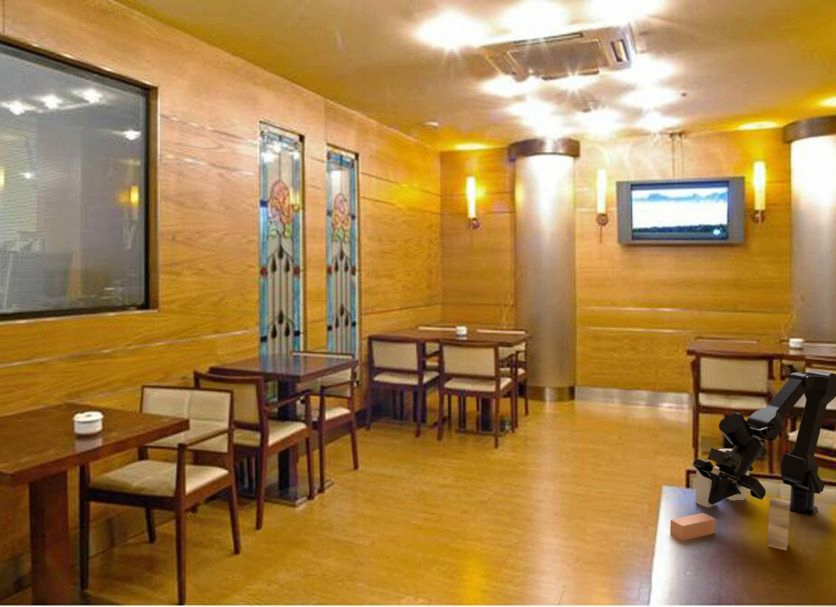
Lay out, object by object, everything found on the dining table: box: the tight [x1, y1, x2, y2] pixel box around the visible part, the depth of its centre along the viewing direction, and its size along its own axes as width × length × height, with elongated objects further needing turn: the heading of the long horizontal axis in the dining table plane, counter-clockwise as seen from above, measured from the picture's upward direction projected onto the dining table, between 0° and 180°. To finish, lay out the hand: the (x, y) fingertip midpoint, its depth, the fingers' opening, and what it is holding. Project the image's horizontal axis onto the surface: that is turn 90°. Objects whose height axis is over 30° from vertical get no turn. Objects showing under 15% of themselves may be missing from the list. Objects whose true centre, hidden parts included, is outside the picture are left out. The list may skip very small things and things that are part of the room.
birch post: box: [767, 496, 791, 551], centre depth 153 cm, size 4×4×11 cm
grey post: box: [694, 465, 718, 508], centre depth 179 cm, size 4×4×11 cm
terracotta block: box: [669, 512, 716, 541], centre depth 160 cm, size 4×4×11 cm
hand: (709, 503), depth 161 cm, fingers closed
